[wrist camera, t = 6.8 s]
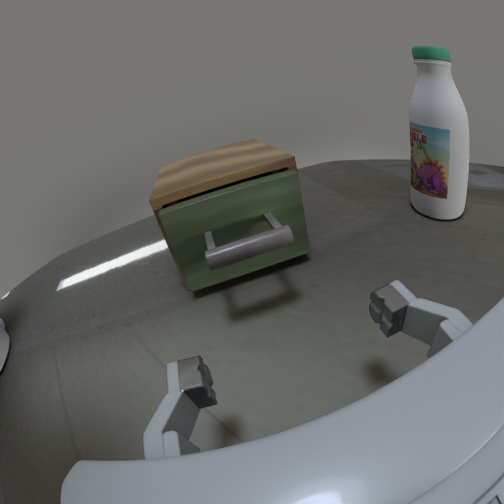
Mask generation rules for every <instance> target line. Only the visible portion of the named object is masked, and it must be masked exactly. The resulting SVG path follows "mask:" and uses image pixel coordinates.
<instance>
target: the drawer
mask: <svg viewBox="0 0 504 504" xmlns="http://www.w3.org/2000/svg"><path fill="white" fill-rule="evenodd" d="M169 206H170V207H167V208H164V209H161V210H159V218H160V221H161V223H162V226H163V228H164V231H165V233H166V236H167V238H168V240H169V243H170V245H171V247H172V250H173V252H174V254H175V257H176V259H177V261H178V264H179V266H180V268H181V270H182V273H183V275H184V277H185V279H186V281H187V284H188V286H189V288H190V290H191V292H192V291H196V290H199V289H202V288H205V287H208V286H211V285H214V284H217V283H220V282H223V281H226V280H229V279H232V278H235V277H238V276H241V275H244V274H247V273H250V272H253V271H256V270H259V269H262V268H265V267H268V266H271V265H274V264H277V263H280V262H283V261H286V260H289V259H292V258H294V257H297V256H300V255H303V254H306V253H309V245H308V238H307V230H306V223H305V216H304V209H303V202H302V195H301V189H300V183H299V177H298V172H296V171H294V170H293V169H291V170H287V171H284V172H280V170H279V169H278V170H274V171H271V172H267V173H263V174H260V175H256V176H252V177H249V178H245V179H242V180H239V181H235V182H232V183H229V184H225V185H222V186H219V187H216V188H212V189H209V190H206V191H203V192H200V193H197V194H194V195H191V196H188V197H185V198H182V199H179V200H176V201H173V202H171V203H169Z"/></svg>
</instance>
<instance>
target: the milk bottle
mask: <svg viewBox="0 0 504 504" xmlns="http://www.w3.org/2000/svg"><path fill="white" fill-rule="evenodd" d="M412 54H413V58H414V61H415V63H414V64H416V66H417V81H416V86H415V89H414V92H413V95H412V99H411V103H410V114H409V118H410V142H411V203H412V205H413V207H414V208H415V209H416V210H417V211H418V212H420V213H422V214H424V215H426V216H429V217H432V218H436V219H455V218H457V217H459V216H461V214H462V213H463V211H464V207H465V201H466V192H467V182H468V169H469V124H468V117H467V113H466V109H465V106H464V104H463V102H462V99H461V97H460V96H459V93H458V91H457V89H456V86H455V84H454V81H453V79H452V76H451V72H450V68H451V67H452V66H451V63H450V62H451V61H450V55H449V51H448V50H446V49H444V48H440V47H433V46H416V47H413V48H412Z"/></svg>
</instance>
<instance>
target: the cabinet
mask: <svg viewBox="0 0 504 504" xmlns="http://www.w3.org/2000/svg"><path fill="white" fill-rule="evenodd" d="M278 169H279V170H280V172H284V171H287V170H291V169H293V170H294V171H296V172H297V167H296V162H295V156H293V155H290V154H288V153H286V152H283V151H281V150H279V149H277V148H274V147H272V146H269V145H267V144H265V143H262V142H260V141H257V140H255V139H248V140H244V141H240V142H237V143H233V144H229V145H226V146H223V147H219V148H215V149H212V150H209V151H205V152H202V153H199V154H196V155H192V156H189V157H186V158H183V159H180V160H177V161H174V162H172V163H169V164H166V165H164V166H161V169H160V172H159V174H158V177H157V180H156V183H155V185H154V188H153V192H152V194H151V197H150V200H149V201H150V204H151V206H152V209H153V211H154V214H155V216H156V219H157V221H158V224H159V226H160V229H161V231H162V233H163V236H164V238H165V240H166V243H167V245H168V248H169V250H170V252H171V254H172V257H173V259H174V261H175V263H176V266H177V268H178V270H179V272H180V275H181V277H182V279H183V281H184V283H185V285H186V288H187V290H189V289H190V288H189V286H188V284H187V281H186V279H185V277H184V275H183V273H182V270H181V268H180V266H179V264H178V261H177V259H176V257H175V254H174V252H173V250H172V247H171V245H170V243H169V240H168V238H167V236H166V233H165V231H164V228H163V226H162V223H161V221H160V218H159V210H161V209H164V208H167V207H170V206H169V203H171V202H173V201H176V200H179V199H182V198H185V197H188V196H191V195H194V194H197V193H200V192H203V191H206V190H209V189H212V188H216V187H219V186H222V185H225V184H229V183H232V182H235V181H239V180H242V179H245V178H249V177H252V176H256V175H260V174H263V173H267V172H271V171H274V170H278Z"/></svg>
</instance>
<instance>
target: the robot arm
mask: <svg viewBox="0 0 504 504" xmlns="http://www.w3.org/2000/svg"><path fill="white" fill-rule="evenodd" d="M370 299H371V300H372V302H371V303H370V305H369V312H370V315H371V317H372V319H373V320H374V322H375V323H378V324H380V329H381V330H382V332H383V333H384V334H385V335H386V337H387V338H388V337H390V336H392V335H394V334H396V333H398V332H399V331H401V332H403V333H405V334H407V335H410V336H412V337H414V338H416V339H418V340H420V341H422V342H424V343H427V344H429V345H431V347H430V349H429V351H428V354H427V356H428V357H429V359H428V360H426V361H425V362H423V363H422V364H420V365H419V366H417V367H415V368H414V369H412V370H411V371H409V372H408V373H406V374H404V375H403V376H401V377H399V378H398V379H396V380H394V381H393V382H391V383H389V384H387V385H386V386H384V387H382V388H380V389H378V390H376V391H375V392H373V393H371V394H369V395H367V396H365V397H363V398H361V399H359V400H357V401H355V402H353V403H351V404H349V405H347V406H344V407H342V408H340V409H338V410H336V411H333V412H331V413H329V414H326V415H324V416H322V417H319V418H317V419H314V420H312V421H309V422H307V423H304V424H301V425H299V426H296V427H293V428H290V429H287V430H284V431H282V432H278V433H275V434H272V435H269V436H266V437H262V438H259V439H256V440H252V441H248V442H245V443H241V444H237V445H233V446H228V447H224V448H219V449H215V450H210V451H204V452H200V448H198V447H197V446H195V445H194V444H192V443H191V442H189V438H190V435H191V433H192V430H193V428H194V425H195V422H196V420H197V417H198V414H199V412H200V409H201V408H205V407H209V406H213V405H216V404H217V400H216V395H215V391H214V390H213V389H212V385H213V380H212V376H211V373H210V371H209V369H208V367H207V365H204V363H203V359H202V358H201V356H195V357H191V358H187V359H183V360H179V361H175V362H171V363H168V364H167V384H168V394H166V395H165V396H164V398H163V400H162V401H161V403H160V405H159V407H158V408H157V410H156V412H155V414H154V416H153V417H152V419H151V421H150V423H149V424H148V426H147V428H146V430H145V431H144V433H143V443H144V458H145V459H142V460H121V461H96V460H80V461H78V462H77V463H76V464H75V465H74V466H73V467H72V469H71V470H70V472H69V473H68V474H67V476H66V477H65V479H64V481H63V483H62V488H61V504H504V297H503V298H502V299H501V300H500V301H499V302H498V303H497V304H496V305H495V306H494V307H493V308H491V309H490V310H489V311H488V312H487V313H486V314H485V315H484V316H483V317H482V318H480V319H479V320H478V321H477V322H476V323H475V324H474V325H473V324H472V323H471V322H470V320H469V319H468V318H467V317H466V316H465V315H464V314H463V313H462V312H461V311H460V310H459V309H455V308H452V307H449V306H445V305H442V304H439V303H435V302H432V301H429V300H425V299H422V298H419V299H417V298H416V297H415V296H414V295H413V294H412V293H411V292H410V291H409V290H408V289H407V288H406V287H405V286H404V285H403V284H402V283H401V282H400V281H398V280H396V281H394V282H392V283H390V284H387V285H385V286H383V287H381V288H379V289H377V290H375V291H373V292H372V293H371V294H370ZM9 343H10V339H9V335H8V333H7V332H6V331H5V323H4V322H3V321H2V320H1V319H0V372H1V369H2V367H3V365H4V362H5V360H6V357H7V354H8V350H9Z"/></svg>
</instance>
